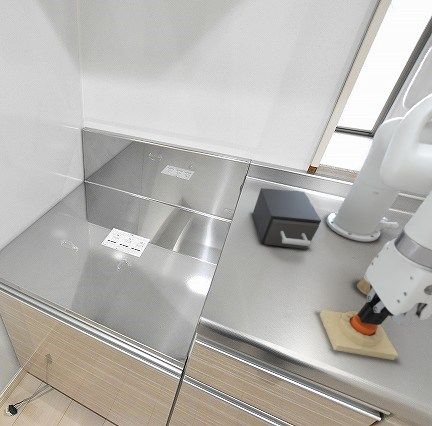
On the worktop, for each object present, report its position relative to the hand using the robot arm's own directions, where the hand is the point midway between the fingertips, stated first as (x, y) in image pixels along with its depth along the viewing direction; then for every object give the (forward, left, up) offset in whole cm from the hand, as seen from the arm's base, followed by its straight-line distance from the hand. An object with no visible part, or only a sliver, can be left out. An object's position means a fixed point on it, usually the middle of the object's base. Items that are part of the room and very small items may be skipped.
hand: (368, 319), depth 55 cm
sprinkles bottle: (-8, -13, -6) cm, 17 cm away
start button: (0, 0, -3) cm, 3 cm away
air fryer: (+7, -32, -6) cm, 33 cm away
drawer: (+7, -28, -5) cm, 30 cm away
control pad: (0, 0, -6) cm, 6 cm away
